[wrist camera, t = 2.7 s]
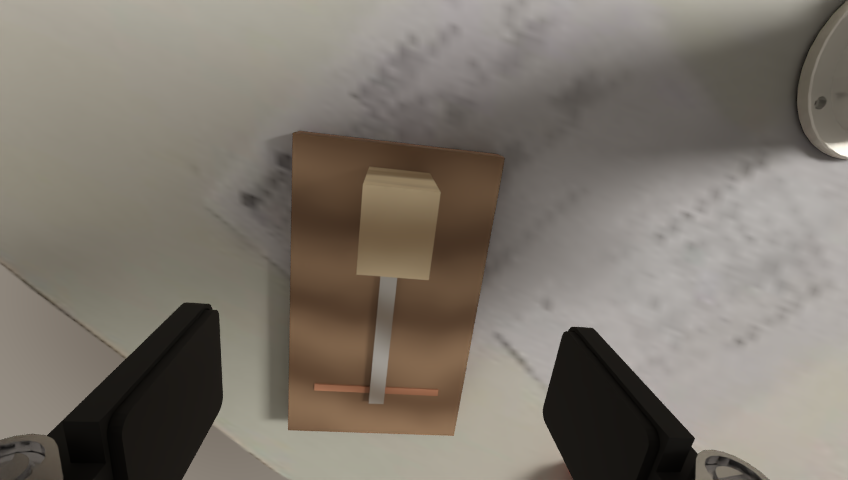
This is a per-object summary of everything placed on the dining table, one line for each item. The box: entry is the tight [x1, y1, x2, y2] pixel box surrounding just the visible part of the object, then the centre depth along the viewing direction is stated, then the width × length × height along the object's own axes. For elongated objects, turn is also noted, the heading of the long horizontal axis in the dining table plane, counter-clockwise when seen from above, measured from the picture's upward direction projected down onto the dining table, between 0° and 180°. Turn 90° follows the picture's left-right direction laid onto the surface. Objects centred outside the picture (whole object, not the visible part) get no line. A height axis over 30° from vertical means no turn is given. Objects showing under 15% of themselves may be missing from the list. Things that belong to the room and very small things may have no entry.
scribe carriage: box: [356, 167, 441, 280], centre depth 24 cm, size 6×4×6 cm
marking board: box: [288, 131, 505, 436], centre depth 30 cm, size 24×14×2 cm, turn 173°
